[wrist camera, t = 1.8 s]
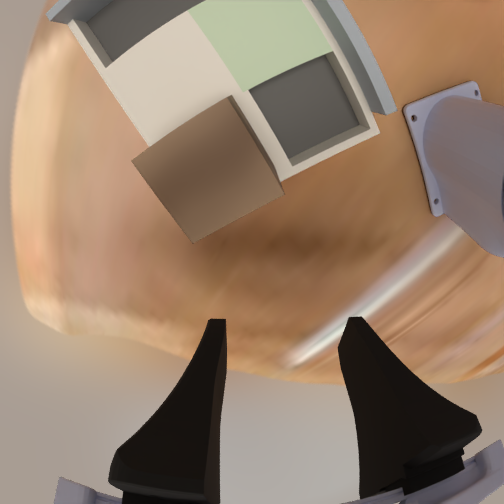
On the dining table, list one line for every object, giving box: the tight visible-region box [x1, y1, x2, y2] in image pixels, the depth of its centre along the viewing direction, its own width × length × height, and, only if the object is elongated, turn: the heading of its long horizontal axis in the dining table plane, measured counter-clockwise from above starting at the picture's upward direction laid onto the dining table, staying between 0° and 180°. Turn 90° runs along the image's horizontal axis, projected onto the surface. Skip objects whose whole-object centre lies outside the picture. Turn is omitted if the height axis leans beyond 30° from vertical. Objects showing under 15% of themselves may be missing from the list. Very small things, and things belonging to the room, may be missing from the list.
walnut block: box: [132, 95, 285, 243], centre depth 14 cm, size 5×5×5 cm
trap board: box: [46, 0, 397, 182], centre depth 12 cm, size 18×13×4 cm
